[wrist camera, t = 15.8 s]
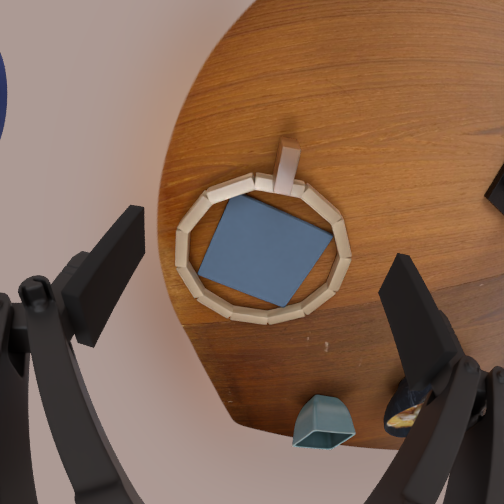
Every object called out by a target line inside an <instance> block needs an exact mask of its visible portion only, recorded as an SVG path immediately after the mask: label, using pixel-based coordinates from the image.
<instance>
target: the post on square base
mask: <svg viewBox="0 0 504 504" xmlns="http://www.w3.org/2000/svg"><path fill="white" fill-rule="evenodd" d="M484 196H485V197H486V198H487V199H488V200H489V201H490V202H491V203H492V204H493V205H494V206H495V207H496V208H497V209H498V210H499V211H500V212H501V213H502V214H503V215H504V164H503V166H502V167H501V169H500V171H499V173H498V174H497V176H496V178H495V179H494V181H493V183H492V184H491V186H490V187H489V189H488V191H487V192H486V194H485V195H484Z"/></svg>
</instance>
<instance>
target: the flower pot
mask: <svg viewBox="0 0 504 504" xmlns="http://www.w3.org/2000/svg"><path fill="white" fill-rule="evenodd" d="M355 434H356V433H355V429H354V426H353V422H352V419H351V416H350V413H349V411H348V409H347V407H346V406H345V405H344V404H343V403H342V402H341V401H340V400H339V399H338V398H335V397H328V396H322V395H315V396H314V397H313V398H312V399H311V400H309V401H308V402H307V403H306V404H305V405H304V406H303V408H302V410H301V411H300V413H299V415H298V417H297V420H296V423H295V429H294V436H293V444H292V446H294V447H303V448H314V449H315V448H316V449H333V448H335V447H336V446H338V445H340V444H341V443H343V442H344V441H346V440H347V439H349V438H351V437H352V436H354V435H355Z"/></svg>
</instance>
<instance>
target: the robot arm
mask: <svg viewBox="0 0 504 504" xmlns="http://www.w3.org/2000/svg"><path fill="white" fill-rule="evenodd" d="M144 235H145V230H144V207H141V206H134V205H130V206H129V207H128V208H127V209H126V210H125V212H124V213H123V214H122V215H121V216H120V217H119V218H118V219H117V221H116V222H115V223H114V224H113V225H112V227H111V228H110V229H109V230H108V231H107V233H106V234H105V235H104V236H103V237H102V239H101V240H100V241H99V242H98V244H97V245H96V246H95V247H94V248H93V250H92V251H91V252H90V253H88V252H84V251H82V252H80V253H78V254H77V255H75V256H74V257H72V259H71V260H70V261H69V262H68V264H67V266H65V267H64V269H63V270H62V272H61V273H60V274H59V275H58V276H57V278H56V279H55V280H54V281H53V283H52V284H50V282H49V280H48V279H47V278H46V277H44V276H40V275H37V276H32V277H29V278H27V279H26V280H25V281H23V282H22V283H21V285H20V286H19V289H18V293H19V296H20V298H21V301H22V303H11V301H10V299H9V297H8V295H7V294H5V293H0V504H38V501H37V496H36V490H35V484H34V477H33V470H32V461H31V451H30V439H29V419H28V381H29V361H30V353H31V355H32V361H33V366H34V370H35V375H36V380H37V384H38V388H39V392H40V396H41V400H42V403H43V407H44V411H45V414H46V417H47V421H48V424H49V427H50V430H51V433H52V436H53V439H54V442H55V444H56V447H57V450H58V453H59V455H60V458H61V461H62V463H63V465H64V468H65V470H66V473H67V475H68V477H69V480H70V482H71V484H72V486H73V489H74V492H75V503H76V504H144V502H143V501H142V499H141V498H140V497H139V495H138V494H137V492H136V491H135V489H134V487H133V485H132V484H131V482H130V480H129V479H128V477H127V475H126V473H125V471H124V469H123V468H122V466H121V464H120V462H119V460H118V459H117V456H116V454H115V452H114V450H113V448H112V446H111V444H110V442H109V440H108V438H107V436H106V434H105V432H104V429H103V427H102V425H101V423H100V420H99V418H98V416H97V413H96V411H95V409H94V406H93V404H92V401H91V399H90V396H89V394H88V391H87V388H86V386H85V383H84V380H83V377H82V374H81V372H80V369H79V366H78V363H77V360H76V357H75V354H74V350H73V347H72V344H71V342H70V340H71V339H72V337H73V335H74V334H75V336H76V339H77V342H78V343H80V344H83V345H87V346H90V347H93V348H94V347H95V344H96V342H97V340H98V338H99V336H100V334H101V332H102V330H103V328H104V327H105V325H106V323H107V321H108V319H109V317H110V315H111V313H112V311H113V309H114V307H115V305H116V304H117V302H118V300H119V298H120V296H121V294H122V292H123V291H124V289H125V287H126V285H127V283H128V282H129V280H130V278H131V276H132V275H133V273H134V271H135V269H136V268H137V266H138V264H139V262H140V261H141V259H142V257H143V256H144V254H145V236H144ZM378 293H379V296H380V299H381V302H382V304H383V307H384V310H385V313H386V316H387V319H388V322H389V324H390V327H391V330H392V334H393V337H394V340H395V343H396V346H397V349H398V352H399V356H400V359H401V362H402V366H403V369H404V372H405V376H406V380H407V383H408V387H409V390H410V391H422V390H424V389H425V388H426V387H427V386H428V385H429V384H430V383H431V386H432V390H431V391H430V392H429V393H428V394H427V395H425V396H424V397H423V398H422V399H421V401H420V402H419V403H420V404H421V403H422V402H423V401H424V403H423V405H422V407H421V410H420V412H419V414H418V416H417V418H416V420H415V422H414V424H413V425H412V427H411V429H410V431H409V433H408V435H407V437H406V439H405V440H404V442H403V444H402V446H401V447H400V449H399V451H398V453H397V454H396V456H395V458H394V459H393V461H392V463H391V464H390V466H389V467H388V469H387V471H386V472H385V474H384V475H383V477H382V479H381V480H380V481H379V483H378V484H377V486H376V487H375V489H374V490H373V492H372V493H371V495H370V496H369V497H368V499H367V500H366V501H365V503H364V504H435V503H436V501H437V499H438V497H439V495H440V493H441V491H442V489H443V486H444V485H445V482H446V480H447V478H448V476H449V480H448V485H447V489H446V494H445V498H444V502H443V504H504V369H503V368H502V367H499V366H496V367H494V368H493V369H492V370H491V371H490V372H486V371H483V370H481V369H480V366H479V364H478V363H477V361H476V360H475V359H473V358H472V357H470V356H466V355H465V354H464V352H463V349H462V347H461V345H460V343H459V341H458V338H457V336H456V334H454V333H455V332H454V330H453V328H451V324H450V322H449V320H448V318H447V317H446V315H445V314H444V313H443V312H442V311H441V310H438V308H437V306H436V304H435V302H434V300H433V298H432V296H431V294H430V292H429V290H428V288H427V286H426V285H425V283H424V281H423V279H422V277H421V275H420V274H419V272H418V270H417V268H416V267H415V265H414V263H413V261H412V260H411V258H410V256H409V255H405V254H400V253H397V255H396V258H395V260H394V262H393V264H392V266H391V268H390V270H389V272H388V274H387V276H386V278H385V280H384V282H383V284H382V286H381V288H380V290H379V292H378ZM485 408H486V413H485V415H483V410H484V409H485ZM449 473H450V475H449Z"/></svg>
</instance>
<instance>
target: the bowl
mask: <svg viewBox="0 0 504 504" xmlns="http://www.w3.org/2000/svg"><path fill="white" fill-rule="evenodd" d="M431 390H432V386H431V383H430V384H429V385H428V386H427V387H426V388H425V389H424V390H422V391H410V390H409V387H408V383H407V380H406V377H405V378H404V379H403V380H402V381H401V382H400V384H399V386H398V390H397V392H396V393H395V394H394V396H393V397H392V398H391V400H390V402H389V404H388V406H387V408H386V411H385V415H384V428H385V431H386V432H387V433H389V434H390V435H392V436H396V437H407V435H408V433H409V431H410V429H411V427H412V425H413V424H414V422H415V420H416V418H417V416H418V414H419V412H420V410H421V407H422V405H423V403H424V401H423V402H422V403H421V404H420V403H419V402H420V401H421V399H422V398H423V397H424V396H425V395H427V394H428V393H429V392H430V391H431Z"/></svg>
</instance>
